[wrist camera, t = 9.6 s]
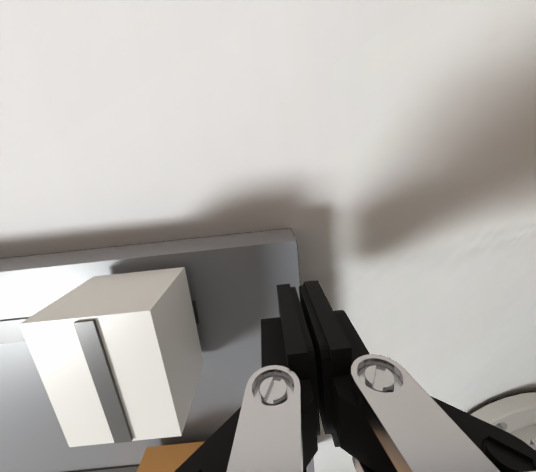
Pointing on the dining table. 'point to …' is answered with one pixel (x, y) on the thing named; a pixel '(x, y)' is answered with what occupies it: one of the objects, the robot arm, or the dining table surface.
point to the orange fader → (166, 457)
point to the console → (207, 321)
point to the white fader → (119, 356)
